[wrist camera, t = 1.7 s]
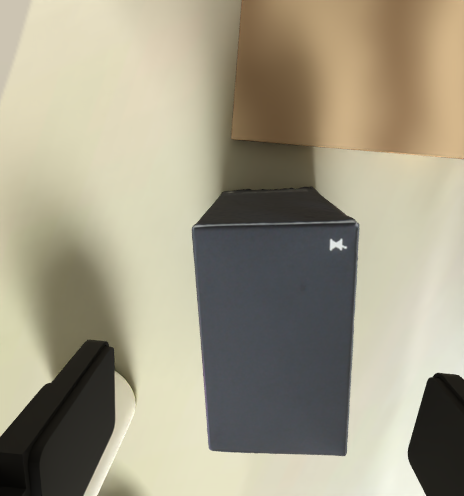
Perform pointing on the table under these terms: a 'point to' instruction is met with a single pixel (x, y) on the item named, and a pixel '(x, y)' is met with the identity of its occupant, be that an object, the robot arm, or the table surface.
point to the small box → (276, 320)
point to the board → (352, 75)
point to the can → (114, 432)
